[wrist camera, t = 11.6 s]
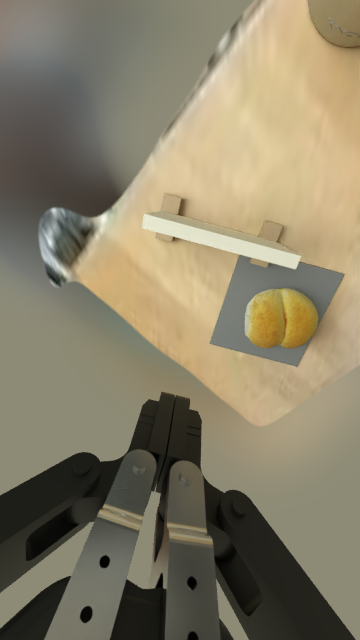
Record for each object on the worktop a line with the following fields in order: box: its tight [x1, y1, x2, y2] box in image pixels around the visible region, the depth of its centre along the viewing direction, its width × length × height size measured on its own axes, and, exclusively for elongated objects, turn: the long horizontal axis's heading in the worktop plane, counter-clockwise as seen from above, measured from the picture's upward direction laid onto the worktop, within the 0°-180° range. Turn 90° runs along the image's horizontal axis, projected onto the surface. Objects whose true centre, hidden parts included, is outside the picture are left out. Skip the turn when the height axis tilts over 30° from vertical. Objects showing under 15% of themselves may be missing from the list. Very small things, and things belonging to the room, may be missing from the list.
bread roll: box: [245, 288, 318, 349], centre depth 34 cm, size 8×9×4 cm
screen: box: [142, 193, 301, 269], centre depth 28 cm, size 5×14×10 cm, turn 76°
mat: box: [210, 255, 344, 367], centre depth 36 cm, size 14×13×1 cm
